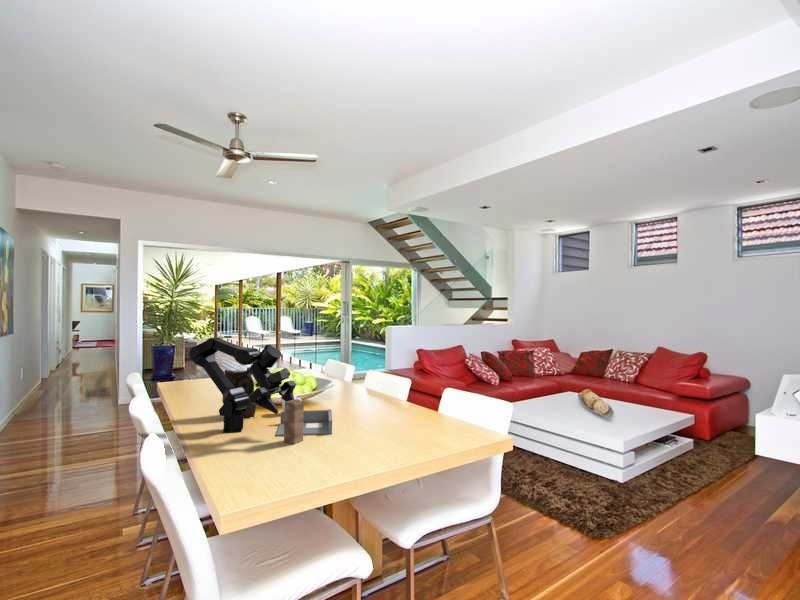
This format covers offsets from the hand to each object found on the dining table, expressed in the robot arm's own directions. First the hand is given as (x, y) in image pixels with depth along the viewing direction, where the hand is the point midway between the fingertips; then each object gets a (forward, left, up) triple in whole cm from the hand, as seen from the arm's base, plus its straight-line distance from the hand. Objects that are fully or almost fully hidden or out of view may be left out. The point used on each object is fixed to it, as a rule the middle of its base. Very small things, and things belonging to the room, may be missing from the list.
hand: (286, 410), depth 149 cm
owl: (-16, +40, -11) cm, 44 cm away
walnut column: (+2, -2, -11) cm, 11 cm away
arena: (+8, +12, -11) cm, 18 cm away
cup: (+4, +37, -11) cm, 38 cm away
